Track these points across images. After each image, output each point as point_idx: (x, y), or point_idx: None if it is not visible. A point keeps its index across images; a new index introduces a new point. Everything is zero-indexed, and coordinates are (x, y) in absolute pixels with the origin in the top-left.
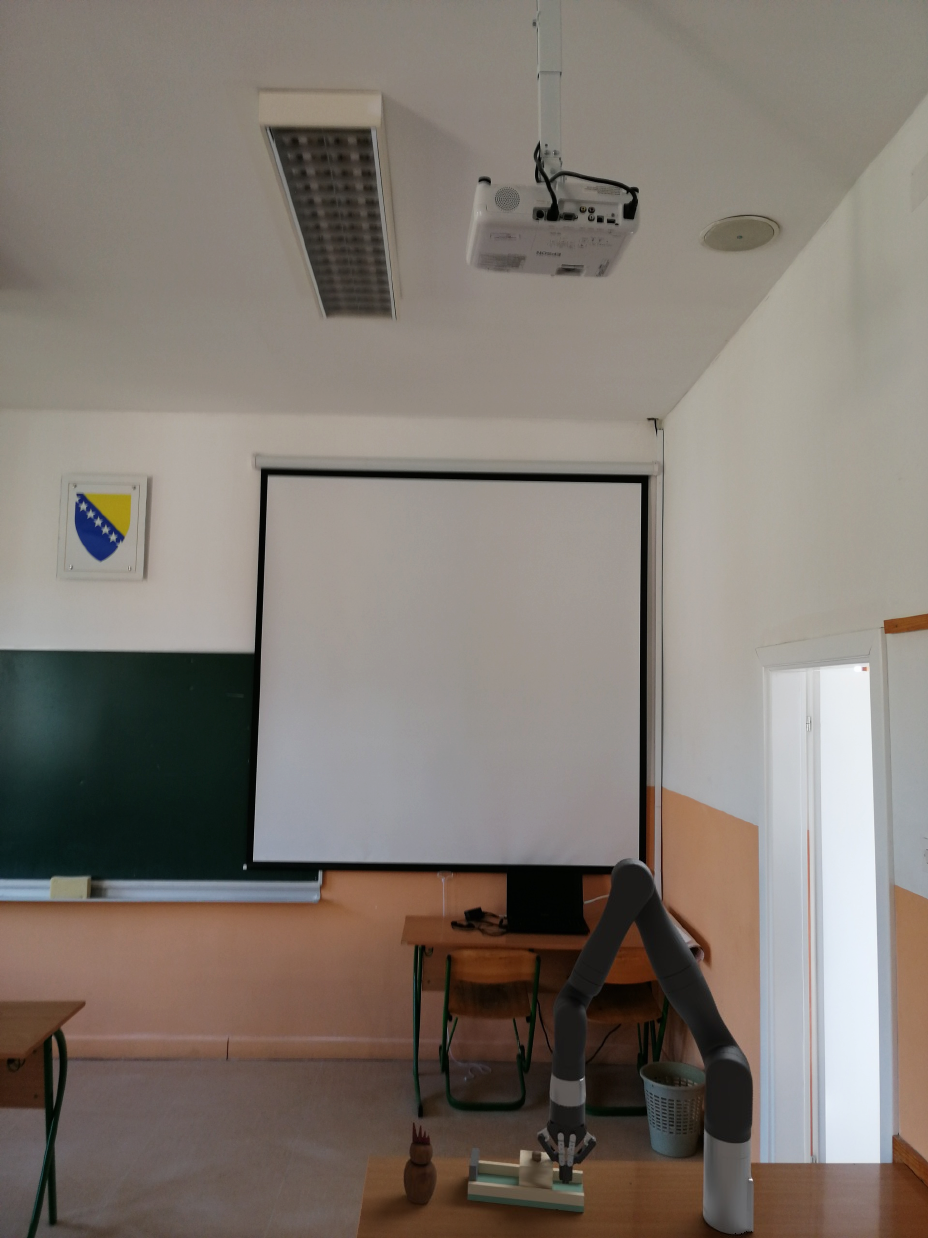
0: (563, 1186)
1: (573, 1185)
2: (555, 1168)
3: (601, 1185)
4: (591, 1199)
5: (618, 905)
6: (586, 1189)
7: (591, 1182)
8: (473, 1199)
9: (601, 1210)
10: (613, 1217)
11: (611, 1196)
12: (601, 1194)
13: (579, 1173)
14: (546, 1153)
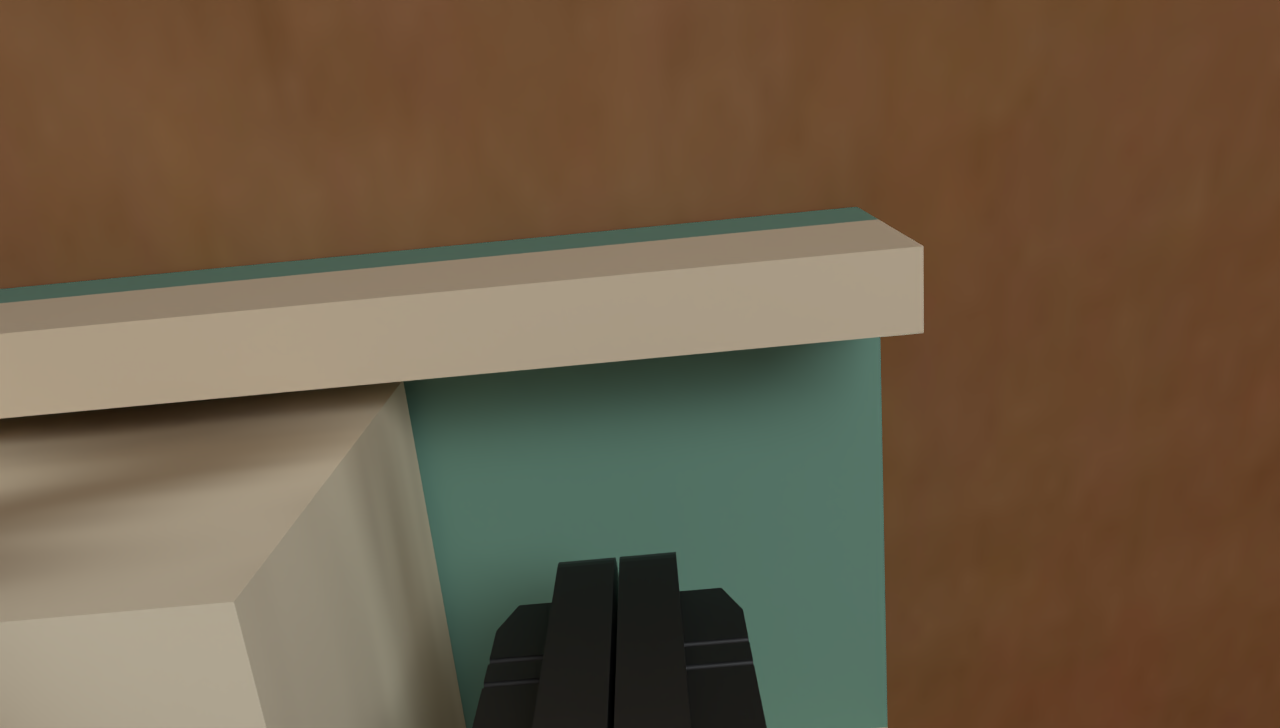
0: (591, 452)
1: (739, 388)
2: (401, 308)
3: (1156, 75)
4: (977, 453)
5: None
6: None
7: (1004, 35)
8: None
9: (1087, 631)
10: (1216, 715)
11: (1266, 315)
12: (1127, 307)
13: (862, 335)
14: (65, 672)
